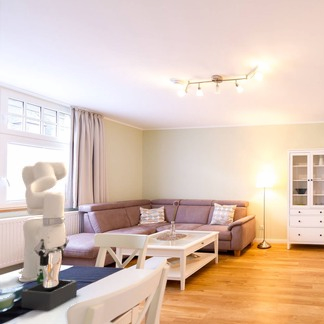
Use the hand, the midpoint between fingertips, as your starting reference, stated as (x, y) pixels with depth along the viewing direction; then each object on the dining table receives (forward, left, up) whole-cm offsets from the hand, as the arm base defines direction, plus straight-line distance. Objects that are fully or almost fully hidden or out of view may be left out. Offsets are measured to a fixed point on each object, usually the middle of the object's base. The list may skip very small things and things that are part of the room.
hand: (51, 262), depth 119 cm
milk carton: (-16, +14, -17) cm, 27 cm away
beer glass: (0, 0, -10) cm, 10 cm away
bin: (0, 0, -17) cm, 17 cm away
